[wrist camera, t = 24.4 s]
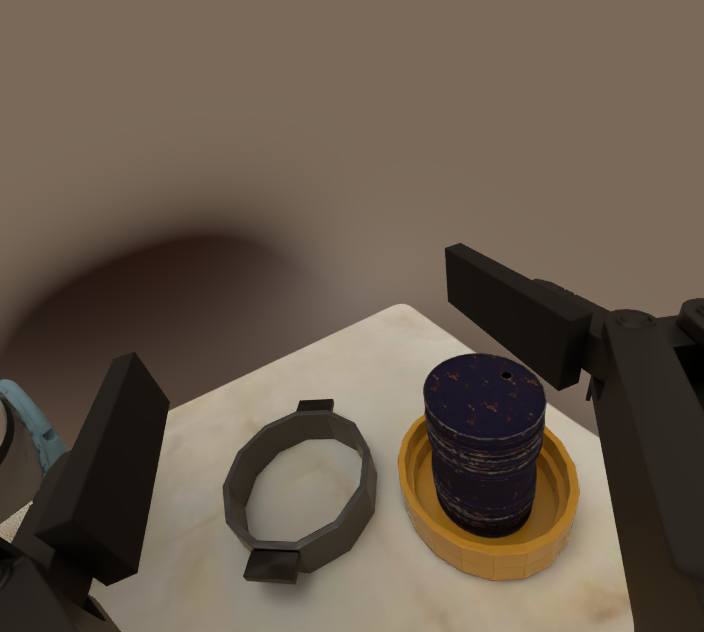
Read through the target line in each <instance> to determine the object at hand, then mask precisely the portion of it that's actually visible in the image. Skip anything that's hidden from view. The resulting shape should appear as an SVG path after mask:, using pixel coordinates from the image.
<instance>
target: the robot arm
mask: <svg viewBox="0 0 704 632" xmlns="http://www.w3.org/2000/svg"><path fill="white" fill-rule="evenodd" d="M445 257H446V275H447V292H448V302H449V303H451V304H452V305H454V307H456V308H457V309H458V310H459V311H461V312H462V313H463V314H464V315H466V316H467V317H468V318H469V319H470V320H472V321H473V322H474V323H475V324H477V325H478V326H479V327H480V328H481V329H483V330H484V331H485V332H486V333H488V334H489V335H490V336H491V337H492V338H494V339H495V340H496V341H497V342H499V343H500V344H501V345H503V346H504V347H505V348H506V349H507V350H509V351H510V352H511V353H512V354H513V355H515V356H516V357H517V358H518V359H520V360H521V361H522V362H523V363H525V364H526V365H527V366H528V367H530V368H531V369H532V370H533V371H535V372H536V373H537V374H538V375H539V376H540V377H542V378H543V379H544V380H545V381H547V382H548V383H549V384H550V385H552V386H553V387H554V388H555V389H557V390H558V391H560V390H562V389H565V388H567V387H569V386H572V385H574V384H576V383H578V382H579V377H580V372H581V368H582V369H583V370H585V371H586V372H588V373H589V374H591V378H590V383H589V387H588V392H587V395H586V401H590V398H591V396H592V399H593V404H594V409H595V415H596V420H597V426H598V431H599V437H600V442H601V448H602V453H603V458H604V464H605V469H606V475H607V480H608V485H609V491H610V496H611V501H612V507H613V512H614V518H615V523H616V528H617V534H618V539H619V545H620V550H621V555H622V561H623V566H624V572H625V577H626V582H627V588H628V593H629V598H630V604H631V609H632V615H633V621H634V632H704V298H696V299H691V300H687V301H686V302H684V303H683V304H682V307H681V310H680V313H679V315H676V316H668V317H661V318H655V317H654V316H652V315H650V314H648V313H645V312H641V311H638V310H629V309H623V310H615V311H612V312H610V311H608V310H606V309H604V308H602V307H600V306H598V305H596V304H594V303H592V302H590V301H588V300H586V299H584V298H582V297H580V296H578V295H574V293H572V292H570V291H568V290H564V288H562V287H560V286H558V285H556V284H554V283H552V282H549V281H544V280H540V279H534V280H530V279H528V278H527V277H525V276H523V275H521V274H519V273H517V272H515V271H513V270H511V269H509V268H507V267H505V266H503V265H502V264H500V263H498V262H496V261H494V260H492V259H490V258H488V257H486V256H484V255H483V254H481V253H479V252H476V251H475V250H473V249H471V248H469V247H467V246H465V245H463V244H462V243H459V244H456V245H453V246H450V247H447V248H445ZM169 404H170V402H169V400H168V399H167V397H166V396H165V395H164V393H163V392H162V390H161V389H160V387H159V386H158V384H157V383H156V381H155V380H154V379H153V377H152V376H151V374H150V373H149V371H148V370H147V368H146V367H145V366H144V364H143V363H142V361H141V360H140V359H139V357H138V356H137V354H136V353H135V352H132V353H129V354H126V355H123V356H120V357H117V358H114V359H113V361H112V363H111V366H110V368H109V370H108V372H107V374H106V377H105V379H104V381H103V383H102V385H101V387H100V390H99V392H98V394H97V396H96V398H95V400H94V403H93V405H92V407H91V409H90V412H89V414H88V416H87V418H86V420H85V422H84V425H83V427H82V429H81V431H80V433H79V435H78V438H77V440H76V442H75V444H74V446H73V448H72V450H71V451H69V449H68V448H67V446H66V445H65V443H64V441H63V440H62V439H61V437H60V436H59V435H58V433H57V432H56V431H55V430H53V427H52V426H51V425H50V423H49V422H48V420H47V419H46V417H45V416H44V415H43V414H42V412H41V411H40V410H39V409H38V407H37V406H36V405H35V404H34V403H33V401H32V400H31V399H30V398H29V397H28V396H27V394H26V393H25V392H24V391H23V390H22V389H21V388H20V387H19V386H18V385H17V384H16V383H15V382H13V381H11V380H0V524H1V523H2V522H4V521H5V520H6V519H8V518H9V517H10V516H12V515H13V514H14V513H16V512H17V511H18V510H20V509H21V508H22V507H24V506H25V505H27V504H28V503H29V502H31V501H32V500H33V501H32V502H33V504H32V505H30V507H29V509H28V511H27V513H26V515H25V517H24V519H23V521H22V523H21V525H20V527H19V529H18V531H17V533H16V535H15V537H14V539H13V541H12V543H11V544H10V543H9V542H7V541H6V540H4V539H3V538H1V537H0V632H121V631H120V630H119V628H118V627H117V626H116V624H115V623H114V622H113V621H112V619H111V618H110V617H109V615H108V614H107V613H106V612H105V610H104V609H103V608H102V606H101V605H100V604H99V602H98V601H97V600H96V599H95V598H93V597H92V596H90V595H89V594H88V593H89V590H90V586H91V583H92V579H93V577H94V578H95V579H97V580H98V581H100V582H101V583H103V584H104V585H105V586H109V585H111V584H114V583H116V582H118V581H121V580H123V579H125V578H127V577H130V576H132V575H134V574H137V572H138V567H139V562H140V557H141V551H142V546H143V541H144V536H145V530H146V525H147V520H148V514H149V509H150V504H151V499H152V493H153V488H154V483H155V478H156V472H157V467H158V462H159V456H160V451H161V446H162V441H163V435H164V430H165V425H166V419H167V414H168V409H169Z"/></svg>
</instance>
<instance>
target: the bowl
mask: <svg viewBox="0 0 704 632" xmlns="http://www.w3.org/2000/svg"><path fill="white" fill-rule="evenodd" d="M432 450H433V448H432V447H431V444H430V442H429V439H428V436H427V429H426V420H425V414H424V415H423V416H421V417H420V418H419V419H418V420H416V421H415V422H414V423H413V425H412V426H411V428H410V429H409V431H408V432H407V434H406V435H405V437H404V438H403V441H402V445H401V449H400V453H399V457H398V467H399V477H400V484H401V489H402V493H403V497H404V502H405V506H406V510H407V512H408V514H409V516H410V519H411V521H412V523H413V525H414V528H415V530H416V532H417V533H418V534H419V536H420V537H421V538H422V539H423V540H424V541H425V543H426V544H427V545H428V546H429V547H430V548H431V550H432V551H433V552H434V553H435V554H436V555H437V556H439V557H440V558H442V559H443V560H445V561H446V562H448V563H450V564H451V565H453V566H454V567H456V568H457V569H459V570H460V571H463V572H465V573H469V574H472V575H476V576H479V577H483V578H486V579H490V580H509V579H523V578H527V577H529V576H531V575H533V574H535V573H537V572H539V571H541V570H543V569H545V568H547V567H549V566H550V565H551V564H552V563H553V561H554V560H555V559H556V558H557V556H558V555H559V554H560V553H561V551H562V550H563V549H564V548H565V546H566V545H567V541H568V537H569V534H570V530H571V526H572V523H573V519H574V515H575V510H576V506H577V502H578V498H579V493H580V490H579V485H578V479H577V474H576V468H575V465H574V463H573V461H572V460H571V458H570V456H569V454H568V453H567V451H566V449H565V447H564V446H563V444H562V442H561V441H560V440H559V439H558V438H557V437H556V436H555V435H554V434H553V433H552V432H551V431H550V430H549V429H548V428H547V427H546V426H545V428H544V435H543V443H542V449H541V451H540V453H539V456H538V457H537V460H536V466H537V479H536V492H535V497H534V500H533V504H532V510H531V514H530V516H529V519H528V520H527V522H526V523H525V525H524V526H523V527H522V528H521V529H520V530H518V531H517V532H515V533H513V534H511V535H508V536H506V537H501V538H485V537H480V536H476V535H473V534H471V533H468V532H466V531H464V530H463V529H461V528H460V527H458V526H457V525H456V524H455V523H453V522H452V521H451V520H450V519H449V517H448V516H447V515H446V514H445V512H444V511H443V509H442V508H441V505H440V503H439V501H438V498H437V493H436V487H435V484H434V480H433V472H432V465H431V461H432Z"/></svg>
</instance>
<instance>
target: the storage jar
mask: <svg viewBox="0 0 704 632" xmlns="http://www.w3.org/2000/svg"><path fill="white" fill-rule="evenodd" d="M423 395H424V403H425V420H426V429H427V436H428V439H429V442H430V444H431V447H432V448H433V450H432V461H431V465H432V472H433V480H434V484H435V487H436V493H437V498H438V501H439V503H440V505H441V508H442V509H443V511H444V512H445V514H446V515H447V516H448V517H449V519H450V520H451V521H452V522H453V523H455V524H456V525H457V526H458V527H460V528H461V529H463V530H464V531H466V532H468V533H471V534H473V535H476V536H480V537H485V538H501V537H506V536H508V535H511V534H513V533H515V532H517V531H518V530H520V529H521V528H522V527H523V526H524V525H525V523H526V522H527V520H528V519H529V516H530V514H531V510H532V504H533V500H534V497H535V492H536V479H537V466H536V460H537V457H538V456H539V453H540V451H541V449H542V443H543V435H544V428H545V410H546V403H547V401H546V394H545V390H544V388H543V386H542V384H541V382H540V381H539V379H538V378H537V377H536V376H535V375H534V374H533V373H532V372H531V371H530V370H529V369H527V368H526V367H524V366H523V365H521V364H520V363H518V362H516V361H514V360H511V359H509V358H506V357H502V356H498V355H493V354H484V353H472V354H464V355H459V356H456V357H453V358H450V359H448V360H446V361H444V362H442V363H440V364H439V365H437V366H436V367H435V368H434V369H433V370H432V371H431V372H430V374H429V375H428V377H427V378H426V380H425V384H424V388H423Z"/></svg>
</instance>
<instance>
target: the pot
mask: <svg viewBox="0 0 704 632" xmlns="http://www.w3.org/2000/svg"><path fill="white" fill-rule="evenodd" d="M333 407H334V401H333V399H322V400H302V401H299V404H298V408H297V411H296V412H294V413H292V414H290V415H287V416H285V417H283V418H281V419H279V420H276V421H274V422H272V423H270V424H268V425H265V426H264V427H263V428H262V429H261V430H260V431H259V432H258V433H257V434H256V435H255V436H254V437H253V438H252V439H251V440H250V441H249V442H248V443H247V444H246V445H245V446H244V447H243V448H242V449H240V450H239V451H238V453H237V455H236V457H235V460H234V462H233V464H232V466H231V469H230V471H229V473H228V475H227V478H226V480H225V482H224V484H223V497H224V508H225V518H226V523H227V525H228V526H229V527H230V529H231V530H232V531H233V532H234V534H235V535H236V536H237V537H238V539H239V540H240V541H241V543H242V544H243V545H244V546H245V547H246V548H247V549H248V550H249V551H250V552H251V554H250V557H249V560H248V563H247V566H246V569H245V572H244V575H243V577H244V578H245V580H246V581H256V582H271V583H285V584H296V580H297V575H298V572H300V573H311V572H313V571H315V570H317V569H318V568H320V567H322V566H324V565H325V564H327V563H329V562H331V561H332V560H334V559H336V558H338V557H339V556H341V555H343V554H345V553H346V552H348V551H350V550H351V549H352V547H353V545H354V544H355V542H356V541H357V539H358V537H359V536H360V534H361V533H362V531H363V530H364V528H365V526H366V525H367V523H368V522H369V520H370V518H371V517H372V515H373V514H374V510H375V495H376V480H377V474H376V470H375V467H374V463H373V460H372V456H371V453H370V449H369V447H368V446H367V444H366V442H365V440H364V439H363V437H362V435H361V433H360V431H359V430H358V428H357V426H356V424H355V423H354V422H352V421H350V420H348V419H346V418H344V417H341V416H339V415H337V414H335V413H333ZM334 438H335V439H336V440H338V441H340V442H342V443H344V444H346V445H348V446H350V447H351V448H353V449H355V450H357V451H358V452H359V454H360V456H361V458H362V470H361V479H360V486H359V487H358V489H357V490H356V492H355V493H354V494H353V496H352V497H351V499H350V500H349V502H348V503H347V504H346V506H345V507H344V509H343V510H342V512H341V513H340V515H339V516H338V517H337V519H336V520H335V521H334V522H332V523H330V524H328V525H326V526H324V527H323V528H321V529H319V530H317V531H315V532H313V533H312V534H310V535H308V536H306V537H304V538H302V539H301V540H299V541H297V542H284V541H260V540H256V539H255V538H254V537H253V536H252V535H250V534H249V533H248V526H247V519H246V512H245V507H246V504H247V501H248V498H249V496H250V493H251V490H252V488H253V485H254V482H255V479H256V477H257V475H258V474H259V473H260V472H261V471H262V470H263V469H264V468H265V467H266V466H267V465H268V464H269V463H270V461H271V460H272V459H273V458H274V457H275V456H276V455H277V454H278V453H279V452H281V451H283V450H285V449H287V448H289V447H291V446H293V445H296V444H298V443H300V442H302V441H304V440H306V439H334Z"/></svg>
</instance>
